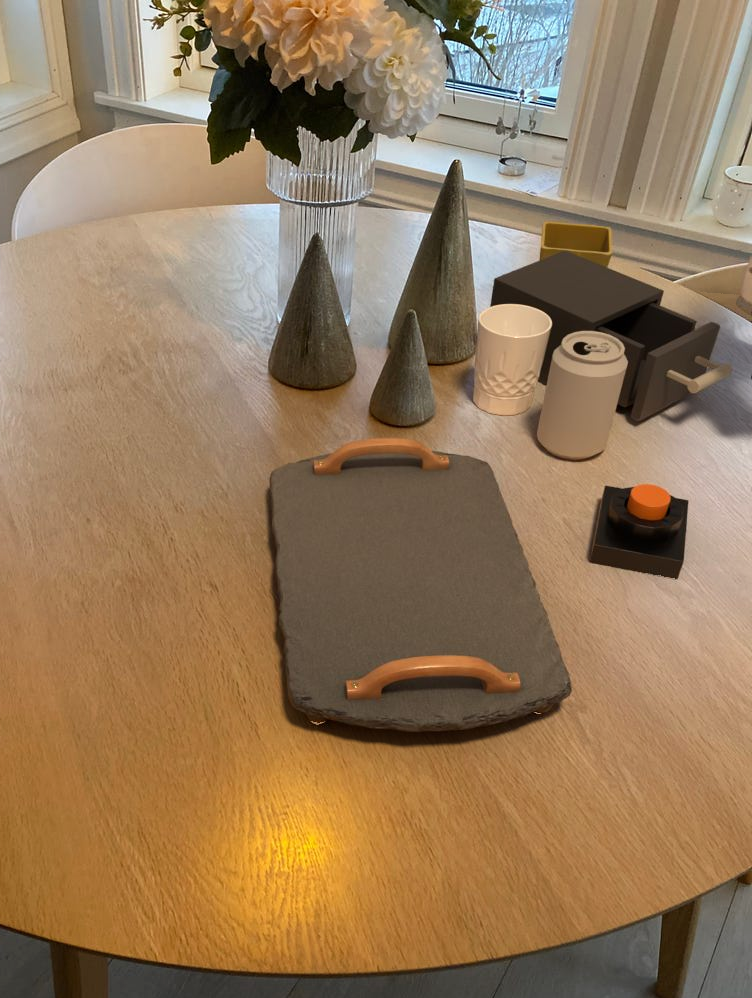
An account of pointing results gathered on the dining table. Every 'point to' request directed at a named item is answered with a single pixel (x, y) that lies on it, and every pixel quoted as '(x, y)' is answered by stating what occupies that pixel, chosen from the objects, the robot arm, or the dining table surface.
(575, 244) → the flower pot
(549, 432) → the can
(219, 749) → the dining table surface
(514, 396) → the white cup
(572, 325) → the cabinet
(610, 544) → the panel
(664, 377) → the drawer
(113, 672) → the dining table surface
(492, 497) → the serving tray
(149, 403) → the dining table surface
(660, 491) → the button
